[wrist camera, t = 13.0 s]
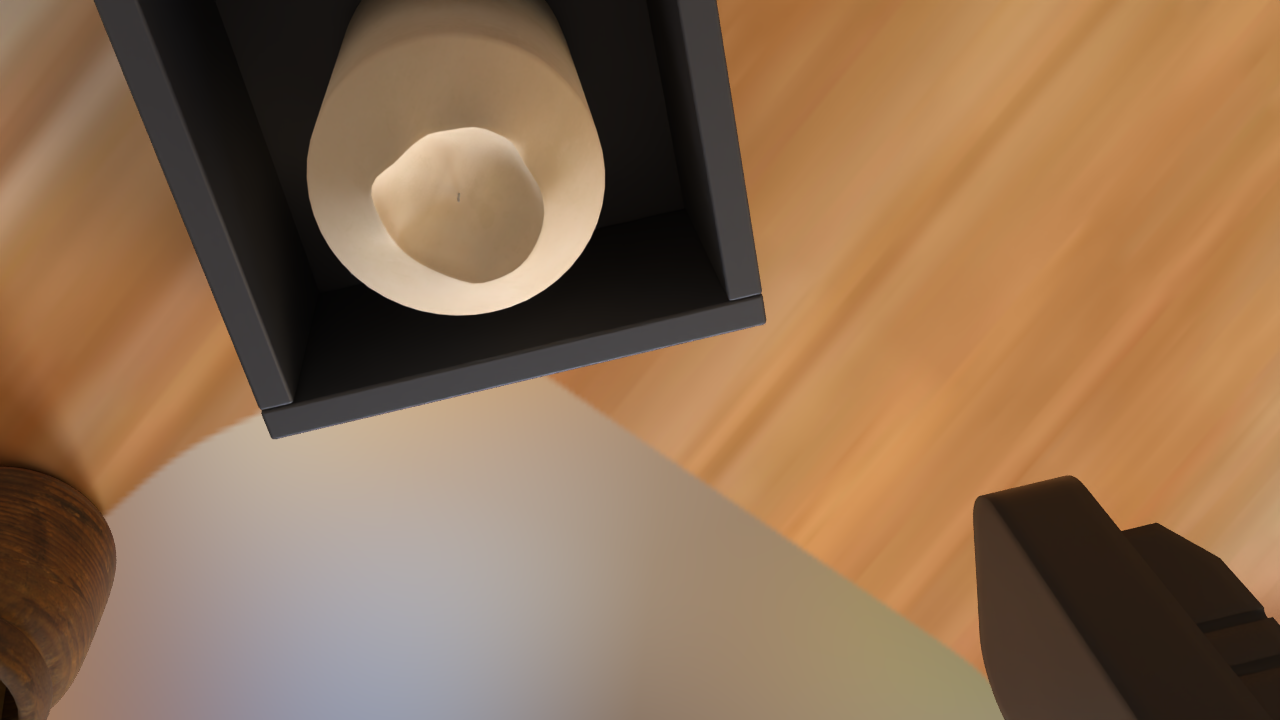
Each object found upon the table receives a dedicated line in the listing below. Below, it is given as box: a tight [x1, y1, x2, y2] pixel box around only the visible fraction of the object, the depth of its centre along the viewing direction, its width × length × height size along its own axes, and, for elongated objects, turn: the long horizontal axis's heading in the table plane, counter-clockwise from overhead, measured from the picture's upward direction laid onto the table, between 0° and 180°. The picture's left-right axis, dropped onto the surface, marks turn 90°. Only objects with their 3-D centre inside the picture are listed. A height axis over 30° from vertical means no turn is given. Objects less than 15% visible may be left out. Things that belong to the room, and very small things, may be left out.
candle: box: [307, 0, 605, 316], centre depth 26 cm, size 6×6×10 cm
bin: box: [94, 0, 766, 439], centre depth 28 cm, size 12×12×7 cm
